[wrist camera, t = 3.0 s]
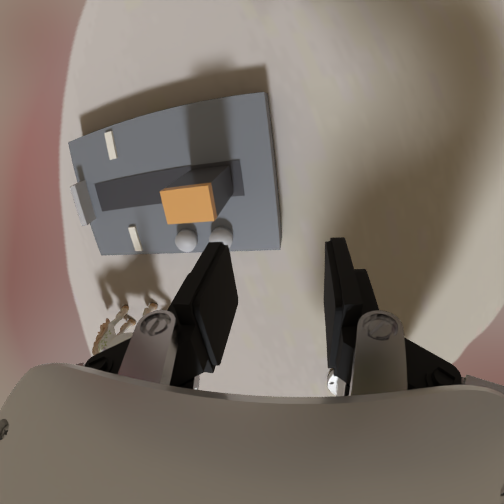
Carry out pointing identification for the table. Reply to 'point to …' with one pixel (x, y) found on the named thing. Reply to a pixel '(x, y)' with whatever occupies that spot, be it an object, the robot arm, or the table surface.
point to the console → (173, 167)
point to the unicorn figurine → (108, 334)
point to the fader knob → (197, 195)
